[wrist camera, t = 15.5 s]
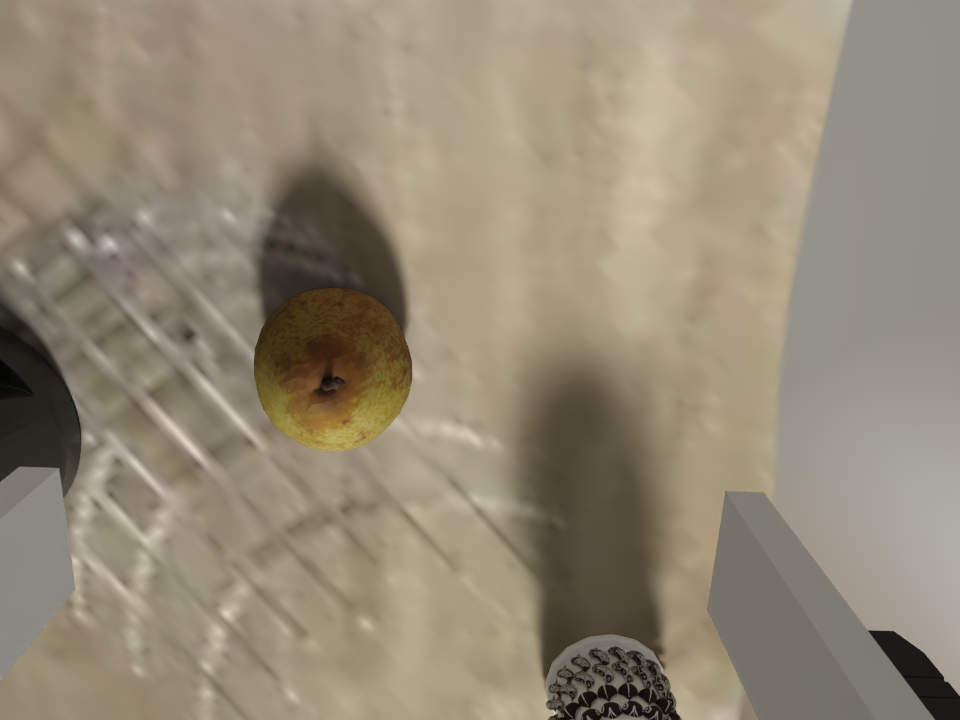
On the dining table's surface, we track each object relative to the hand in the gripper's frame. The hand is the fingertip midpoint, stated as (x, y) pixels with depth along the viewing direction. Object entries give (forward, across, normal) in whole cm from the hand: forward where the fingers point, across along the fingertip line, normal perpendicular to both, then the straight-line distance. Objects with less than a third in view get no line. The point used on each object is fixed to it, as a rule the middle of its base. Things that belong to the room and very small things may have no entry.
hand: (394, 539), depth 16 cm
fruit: (+32, +6, +6) cm, 33 cm away
